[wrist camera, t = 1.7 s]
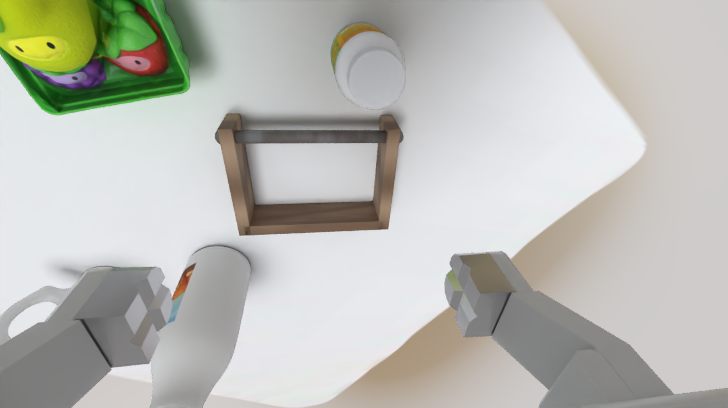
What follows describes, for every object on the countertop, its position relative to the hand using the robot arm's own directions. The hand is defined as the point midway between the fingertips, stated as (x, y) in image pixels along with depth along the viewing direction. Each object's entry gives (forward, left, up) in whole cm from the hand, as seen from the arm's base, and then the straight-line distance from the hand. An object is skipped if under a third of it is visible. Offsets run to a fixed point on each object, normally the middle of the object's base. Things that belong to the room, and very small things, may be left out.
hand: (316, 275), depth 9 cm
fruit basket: (-3, -16, -26) cm, 30 cm away
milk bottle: (+24, -13, -26) cm, 38 cm away
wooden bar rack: (+10, 0, -26) cm, 28 cm away
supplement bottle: (-2, +4, -26) cm, 26 cm away
